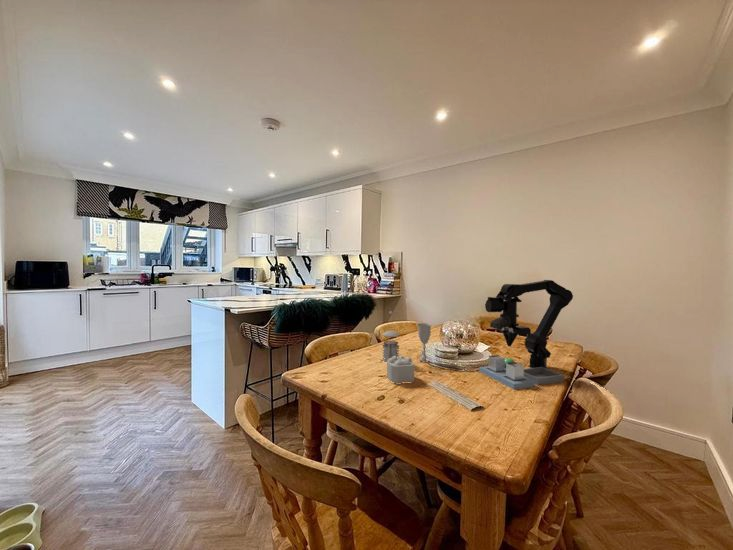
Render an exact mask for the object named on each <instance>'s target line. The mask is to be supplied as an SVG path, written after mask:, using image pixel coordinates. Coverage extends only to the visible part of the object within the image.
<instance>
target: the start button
mask: <svg viewBox="0 0 733 550" xmlns="http://www.w3.org/2000/svg"><path fill="white" fill-rule="evenodd" d="M504 358H505V364H506V363H510V362H514V361H515V359H513V358H508V357H504Z"/></svg>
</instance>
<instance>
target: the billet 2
mask: <svg viewBox="0 0 733 550" xmlns="http://www.w3.org/2000/svg"><path fill="white" fill-rule="evenodd" d="M518 363H519V362H518V361H515V362H510V363H506V378H507V379H510V380H512V381H514V382H515V381H523V379H524V369H525V366H524V365H523V364H522V363H520V364H518ZM521 364H522V365H521Z"/></svg>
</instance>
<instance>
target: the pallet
mask: <svg viewBox="0 0 733 550" xmlns="http://www.w3.org/2000/svg"><path fill="white" fill-rule="evenodd" d="M478 372H479V373H480V374H482V375H484V376H486V377H489V378H490V379H492V380H494V381H497V382H498V383H500V384H501V385H504V386H505V387H508V388H510V389H512V390H519V389H520V390H521V389H526V388H532V387H533V388H535V387H536V384H535V381H533V380H531V379H528V378H526V377H524V379H523V381H515V382H514V381H512V380H510V379H507V378H506V368H505V369H504V372H499V373H495V372H493V371H491V370H489V365H487V366H485V365H484V366H478Z"/></svg>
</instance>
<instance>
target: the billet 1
mask: <svg viewBox="0 0 733 550" xmlns="http://www.w3.org/2000/svg"><path fill="white" fill-rule="evenodd" d="M505 358H506V357H502V356H501V355H498V354H493V355H488V366H489V370H491V371H493V372H495V373H499V372H504V369H505Z"/></svg>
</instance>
